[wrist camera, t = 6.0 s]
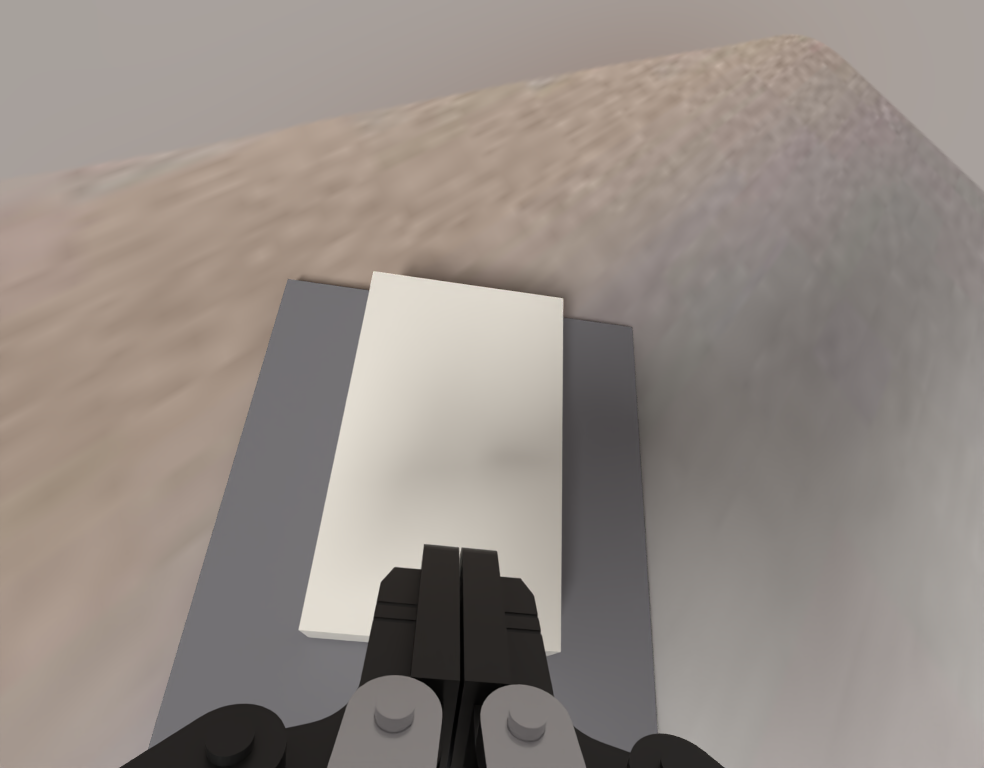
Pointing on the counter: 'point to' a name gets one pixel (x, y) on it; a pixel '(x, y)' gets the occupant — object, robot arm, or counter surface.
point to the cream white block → (444, 448)
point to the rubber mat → (298, 513)
